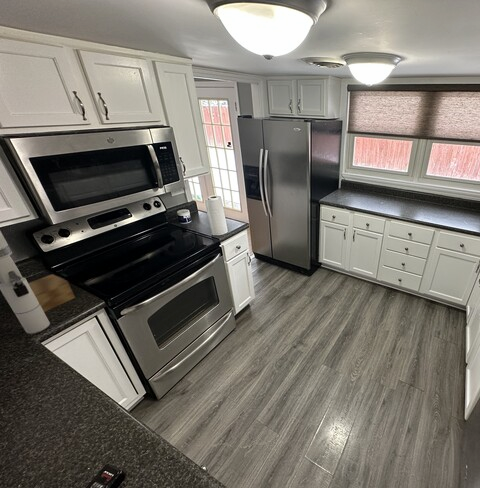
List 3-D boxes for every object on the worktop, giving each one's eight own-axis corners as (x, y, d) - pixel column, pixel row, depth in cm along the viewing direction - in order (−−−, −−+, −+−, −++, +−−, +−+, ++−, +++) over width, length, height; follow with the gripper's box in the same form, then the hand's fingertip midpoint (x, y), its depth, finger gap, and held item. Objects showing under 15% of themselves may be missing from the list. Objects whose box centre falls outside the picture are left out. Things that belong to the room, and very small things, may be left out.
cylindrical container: (31, 340, 107) (0, 289, 96) (26, 332, 110) (-4, 283, 100) (54, 329, 112) (28, 281, 102) (49, 323, 116) (22, 275, 105)
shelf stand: (38, 314, 121) (29, 296, 116) (23, 305, 126) (13, 288, 121) (75, 297, 132) (67, 281, 128) (60, 290, 137) (52, 274, 133)
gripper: (-31, 251, 95) (-7, 291, 103) (-10, 262, 89) (15, 303, 96) (-2, 243, 101) (20, 281, 109) (21, 253, 95) (42, 292, 103)
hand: (17, 291), depth 103 cm, fingers open, 8 cm apart
